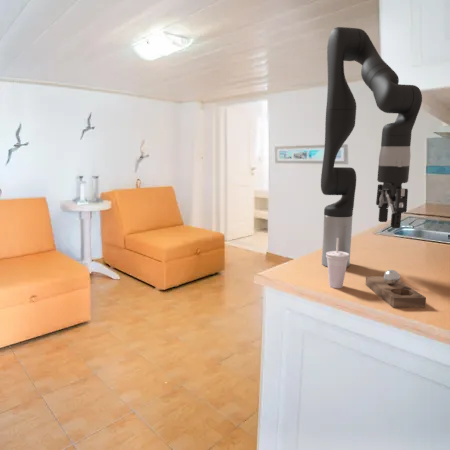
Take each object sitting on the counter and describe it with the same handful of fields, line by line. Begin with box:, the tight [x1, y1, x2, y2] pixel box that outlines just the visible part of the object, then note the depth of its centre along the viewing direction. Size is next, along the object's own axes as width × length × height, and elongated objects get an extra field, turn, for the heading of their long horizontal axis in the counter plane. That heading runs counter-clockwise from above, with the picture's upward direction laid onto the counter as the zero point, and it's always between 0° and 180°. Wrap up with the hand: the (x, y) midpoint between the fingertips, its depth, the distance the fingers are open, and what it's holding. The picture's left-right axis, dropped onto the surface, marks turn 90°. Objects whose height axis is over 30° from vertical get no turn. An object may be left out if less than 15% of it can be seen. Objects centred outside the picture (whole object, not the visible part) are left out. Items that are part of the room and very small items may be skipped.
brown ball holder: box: [364, 275, 427, 309], centre depth 100 cm, size 17×8×2 cm, turn 2°
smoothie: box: [326, 238, 349, 289], centre depth 106 cm, size 6×6×14 cm
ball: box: [383, 269, 400, 285], centre depth 101 cm, size 4×4×4 cm
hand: (388, 224), depth 101 cm, fingers open, 8 cm apart
